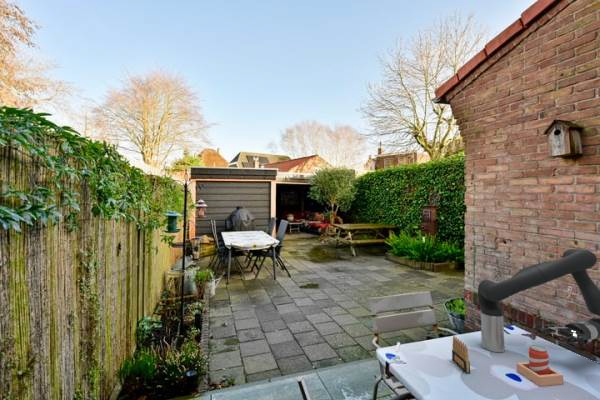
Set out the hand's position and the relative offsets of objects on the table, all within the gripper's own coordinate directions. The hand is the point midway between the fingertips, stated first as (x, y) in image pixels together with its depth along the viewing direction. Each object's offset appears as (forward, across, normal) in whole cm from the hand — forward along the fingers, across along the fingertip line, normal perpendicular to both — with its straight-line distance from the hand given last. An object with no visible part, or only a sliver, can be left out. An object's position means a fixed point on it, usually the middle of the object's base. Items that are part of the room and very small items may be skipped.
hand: (555, 336), depth 119 cm
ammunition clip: (+34, -16, +16) cm, 41 cm away
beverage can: (+10, 0, +16) cm, 19 cm away
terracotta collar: (+10, 0, +16) cm, 19 cm away
